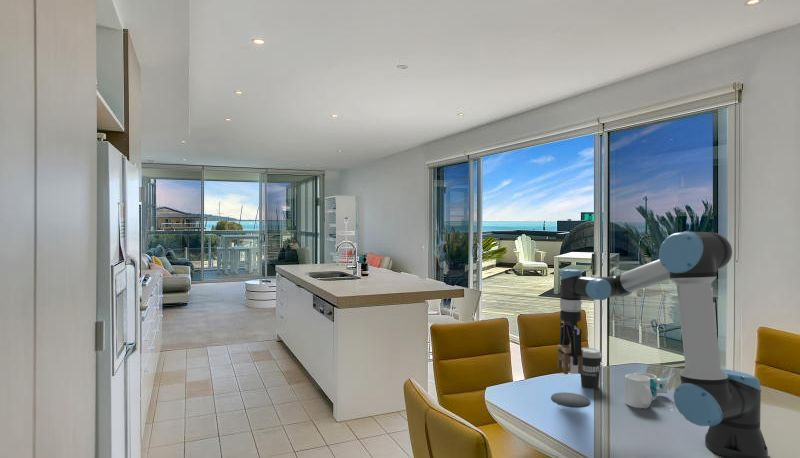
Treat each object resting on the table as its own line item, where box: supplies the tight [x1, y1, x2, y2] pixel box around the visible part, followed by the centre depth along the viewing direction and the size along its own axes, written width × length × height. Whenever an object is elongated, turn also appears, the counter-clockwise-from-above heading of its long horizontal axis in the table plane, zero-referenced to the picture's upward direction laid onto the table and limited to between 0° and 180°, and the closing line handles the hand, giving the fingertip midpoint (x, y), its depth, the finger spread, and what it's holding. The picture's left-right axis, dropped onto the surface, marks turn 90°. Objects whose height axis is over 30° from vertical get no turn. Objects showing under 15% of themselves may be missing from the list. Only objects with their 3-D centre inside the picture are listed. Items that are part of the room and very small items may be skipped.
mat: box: [550, 392, 591, 408], centre depth 180 cm, size 14×14×1 cm
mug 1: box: [624, 373, 653, 409], centre depth 173 cm, size 12×8×10 cm
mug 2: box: [633, 371, 668, 401], centre depth 184 cm, size 8×12×8 cm
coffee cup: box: [580, 347, 603, 390], centre depth 196 cm, size 10×10×15 cm
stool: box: [556, 344, 583, 375], centre depth 180 cm, size 7×7×9 cm
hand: (569, 370), depth 180 cm, fingers closed on stool, 7 cm apart
